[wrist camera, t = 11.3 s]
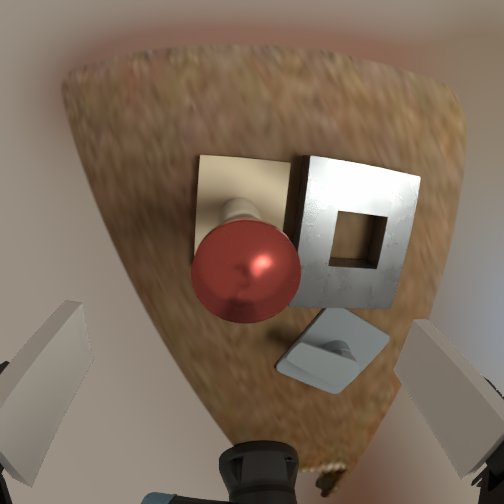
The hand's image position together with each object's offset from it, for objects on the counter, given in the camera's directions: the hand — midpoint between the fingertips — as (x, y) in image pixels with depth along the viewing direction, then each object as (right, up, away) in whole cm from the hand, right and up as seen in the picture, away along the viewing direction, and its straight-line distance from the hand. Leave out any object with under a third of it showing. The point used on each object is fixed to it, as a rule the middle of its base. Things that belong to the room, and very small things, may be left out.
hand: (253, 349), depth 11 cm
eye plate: (+11, +6, +22) cm, 26 cm away
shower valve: (+10, -9, +28) cm, 31 cm away
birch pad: (-1, +7, +21) cm, 22 cm away
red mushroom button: (-1, +7, +20) cm, 21 cm away
